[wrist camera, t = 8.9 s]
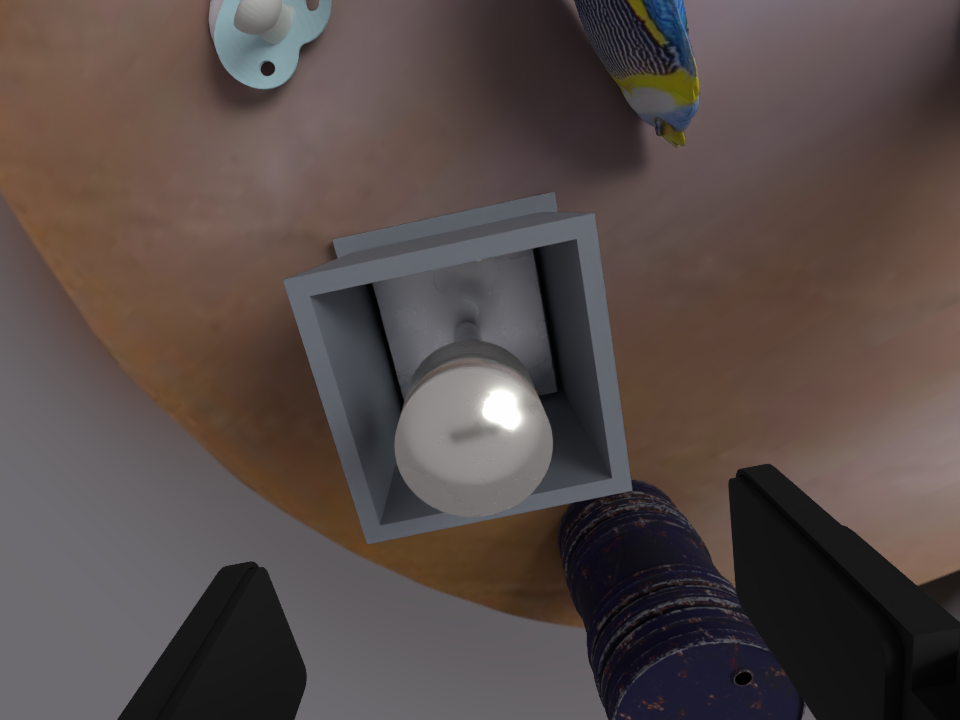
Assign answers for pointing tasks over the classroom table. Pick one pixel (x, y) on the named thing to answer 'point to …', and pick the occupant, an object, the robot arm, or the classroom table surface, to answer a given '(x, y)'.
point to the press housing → (373, 379)
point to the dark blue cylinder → (665, 617)
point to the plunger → (471, 382)
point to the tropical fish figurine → (647, 58)
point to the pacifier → (264, 36)
